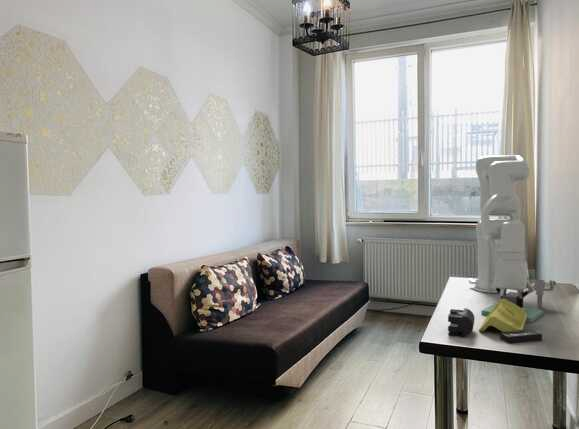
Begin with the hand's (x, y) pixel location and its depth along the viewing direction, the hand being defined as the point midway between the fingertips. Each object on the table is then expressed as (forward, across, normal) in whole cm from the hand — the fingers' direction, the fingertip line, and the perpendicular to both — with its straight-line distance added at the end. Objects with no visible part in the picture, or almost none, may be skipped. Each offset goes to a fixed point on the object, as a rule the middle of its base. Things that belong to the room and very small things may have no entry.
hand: (512, 307), depth 154 cm
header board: (+3, 0, 0) cm, 3 cm away
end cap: (+3, -5, -31) cm, 32 cm away
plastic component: (+3, +3, -17) cm, 18 cm away
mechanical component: (+3, +4, +20) cm, 20 cm away
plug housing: (+1, 0, +1) cm, 1 cm away
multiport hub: (+4, +10, -26) cm, 28 cm away
